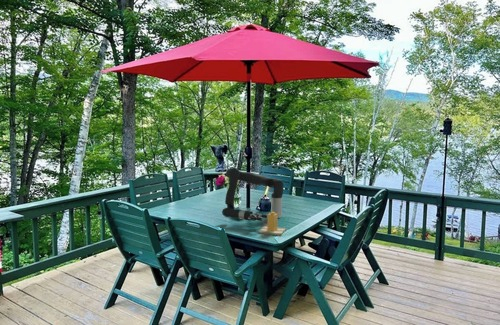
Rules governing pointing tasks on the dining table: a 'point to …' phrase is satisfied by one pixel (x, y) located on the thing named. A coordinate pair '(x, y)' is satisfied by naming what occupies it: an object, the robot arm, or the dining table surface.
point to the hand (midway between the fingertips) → (264, 217)
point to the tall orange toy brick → (272, 221)
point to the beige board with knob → (277, 232)
